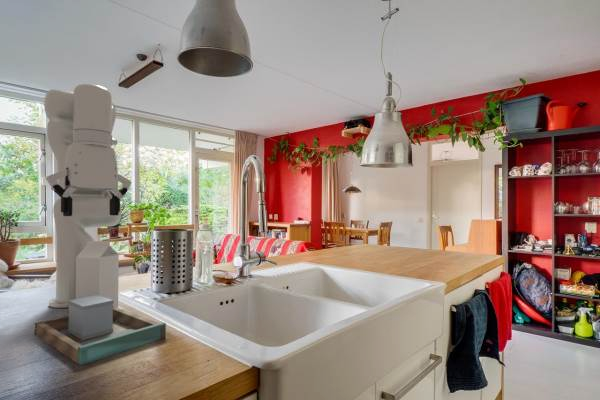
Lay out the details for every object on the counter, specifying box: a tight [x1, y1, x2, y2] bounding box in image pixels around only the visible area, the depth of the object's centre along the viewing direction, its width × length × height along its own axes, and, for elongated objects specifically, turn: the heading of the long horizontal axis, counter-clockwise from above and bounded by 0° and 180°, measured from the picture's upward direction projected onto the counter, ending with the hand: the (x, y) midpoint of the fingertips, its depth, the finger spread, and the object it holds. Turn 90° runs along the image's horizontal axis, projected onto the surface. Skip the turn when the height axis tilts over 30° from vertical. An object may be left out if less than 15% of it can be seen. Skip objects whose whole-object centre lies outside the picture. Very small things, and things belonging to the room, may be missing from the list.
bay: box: [34, 306, 167, 366], centre depth 75 cm, size 25×16×3 cm, turn 53°
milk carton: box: [76, 240, 120, 308], centre depth 93 cm, size 7×7×19 cm
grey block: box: [67, 295, 114, 341], centre depth 77 cm, size 8×6×7 cm
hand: (91, 215), depth 78 cm, fingers open, 9 cm apart
